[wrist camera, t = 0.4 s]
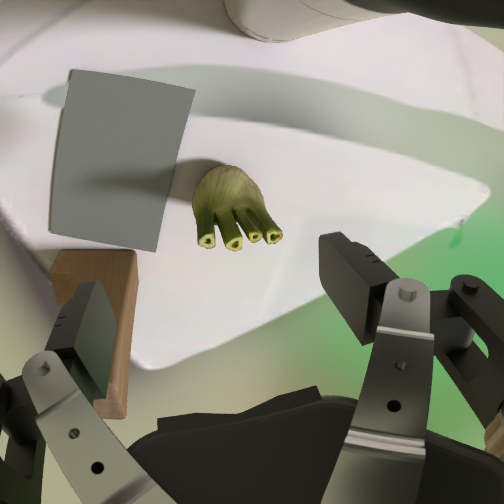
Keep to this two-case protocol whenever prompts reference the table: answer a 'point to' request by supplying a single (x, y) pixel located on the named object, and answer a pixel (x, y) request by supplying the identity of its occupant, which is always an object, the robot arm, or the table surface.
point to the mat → (117, 158)
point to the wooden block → (121, 300)
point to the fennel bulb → (231, 209)
